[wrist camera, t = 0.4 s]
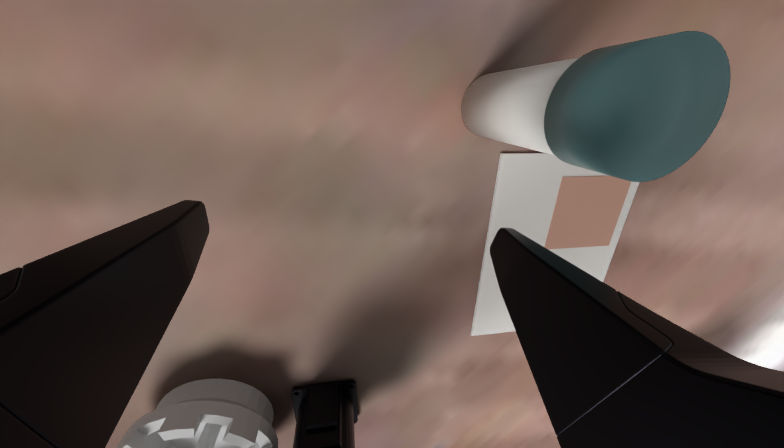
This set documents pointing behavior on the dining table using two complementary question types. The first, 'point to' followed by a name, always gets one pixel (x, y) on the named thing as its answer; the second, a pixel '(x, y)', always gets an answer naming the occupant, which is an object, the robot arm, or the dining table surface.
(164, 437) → the flag stand
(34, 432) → the robot arm
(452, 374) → the dining table surface
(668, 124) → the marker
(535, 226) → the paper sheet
